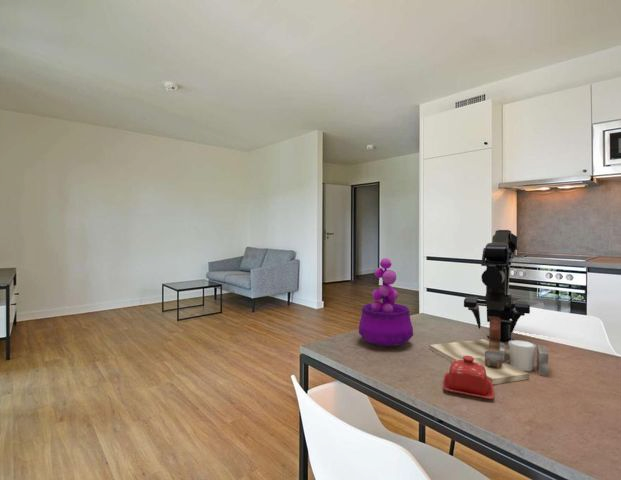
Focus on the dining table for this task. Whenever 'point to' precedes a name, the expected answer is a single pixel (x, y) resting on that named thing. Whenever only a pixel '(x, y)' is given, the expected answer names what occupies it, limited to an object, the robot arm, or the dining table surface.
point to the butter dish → (468, 379)
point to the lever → (494, 344)
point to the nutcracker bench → (478, 353)
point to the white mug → (522, 354)
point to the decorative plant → (385, 313)
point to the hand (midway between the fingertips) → (495, 330)
